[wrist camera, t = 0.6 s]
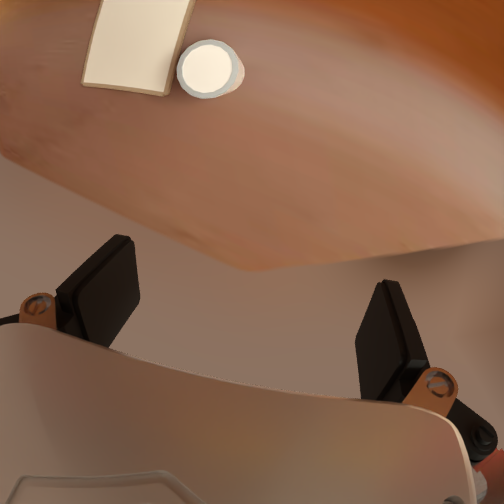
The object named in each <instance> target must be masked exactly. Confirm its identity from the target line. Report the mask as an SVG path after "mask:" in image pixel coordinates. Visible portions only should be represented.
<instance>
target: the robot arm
mask: <svg viewBox="0 0 504 504" xmlns="http://www.w3.org/2000/svg"><path fill="white" fill-rule="evenodd" d="M56 293H57V295H56V296H55V297H53V296H52V295H50V294H48V293H37V294H34V295H31V296H29V297H28V298H26V299H25V300H24V301H23V303H22V304H21V307H20V313H19V314H16V315H12V316H9V317H4V318H1V319H0V504H504V451H503V449H500V450H498V449H497V448H496V447H497V443H498V437H497V434H496V431H495V429H494V428H493V426H491V425H490V424H489V423H488V422H487V421H486V420H484V419H483V418H482V417H480V416H479V415H478V414H476V413H475V412H474V411H472V410H471V409H470V408H468V407H467V406H466V405H465V404H463V403H462V402H461V401H460V400H458V399H457V398H456V396H457V393H458V385H457V382H456V380H455V379H454V377H453V376H452V375H451V374H450V373H449V372H447V371H445V370H444V369H441V368H437V367H433V368H430V365H429V361H428V358H427V355H426V352H425V349H424V346H423V343H422V341H421V337H420V334H419V332H418V329H417V326H416V323H415V321H414V319H413V317H412V315H411V312H410V309H409V307H408V304H407V302H406V299H405V297H404V294H403V292H402V289H401V287H400V284H399V282H397V281H392V280H385V279H384V280H383V281H382V282H381V283H380V282H379V283H377V285H376V288H375V291H374V293H373V295H372V298H371V301H370V303H369V306H368V309H367V311H366V313H365V316H364V319H363V321H362V323H361V326H360V328H359V330H358V333H357V335H356V340H355V347H356V355H357V364H358V372H359V382H360V392H361V399H356V398H345V397H336V396H327V395H318V394H310V393H302V392H295V391H287V390H282V389H275V388H269V387H263V386H258V385H252V384H247V383H241V382H236V381H230V380H226V379H222V378H217V377H212V376H208V375H203V374H199V373H194V372H190V371H187V370H182V369H178V368H175V367H171V366H167V365H164V364H160V363H156V362H152V361H149V360H145V359H142V358H139V357H135V356H132V355H128V354H125V353H122V352H119V351H116V350H113V349H110V348H109V346H110V345H111V343H112V342H113V340H114V339H115V337H116V336H117V334H118V333H119V331H120V330H121V328H122V327H123V325H124V324H125V323H126V321H127V320H128V318H129V317H130V315H131V314H132V312H133V311H134V310H135V308H136V307H137V305H138V304H139V300H140V290H139V282H138V274H137V265H136V255H135V245H134V242H133V241H132V240H131V238H130V237H129V236H124V235H118V234H116V235H114V236H113V237H112V238H111V239H110V240H108V241H107V242H106V243H105V244H104V245H103V246H102V247H100V248H99V249H98V250H97V251H96V252H95V253H94V254H93V255H92V256H91V257H90V258H88V259H87V260H86V261H85V262H84V263H83V264H82V265H81V266H80V267H79V268H78V269H77V270H75V271H74V272H73V273H72V274H71V275H70V276H69V277H68V278H67V279H66V280H65V281H64V282H63V283H62V284H61V285H60V286H59V287H58V288H57V289H56Z"/></svg>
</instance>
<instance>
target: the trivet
mask: <svg viewBox="0 0 504 504" xmlns="http://www.w3.org/2000/svg"><path fill="white" fill-rule="evenodd" d="M195 2H196V0H101V3H100V6H99V9H98V13H97V16H96V19H95V23H94V27H93V30H92V34H91V38H90V42H89V46H88V50H87V55H86V59H85V64H84V69H83V74H82V79H81V84H83V86H89V87H99V88H108V89H117V90H124V91H132V92H139V93H145V94H151V95H157V96H165V95H169V94H170V90H171V86H172V81H173V77H174V73H175V70H176V66H177V62H178V58H179V55H180V51H181V47H182V44H183V40H184V37H185V34H186V30H187V27H188V24H189V21H190V17H191V14H192V11H193V8H194V5H195Z"/></svg>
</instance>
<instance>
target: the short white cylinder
mask: <svg viewBox="0 0 504 504" xmlns="http://www.w3.org/2000/svg"><path fill="white" fill-rule="evenodd" d="M244 76H245V74H244V66H243V64H242V62H241V60H240V59H239V57H238V56H237V55H236V53H235V52H234V50H233V49H232V48H230V47H229V46H228V45H226V44H225V43H224V42H221V41H217V40H213V39H209V40H202V41H198V42H196V43H194V44H193V45H191V46H189V47H188V48H187V49H186V50H185V51H184V53H183V54H182V55H181V56H180V59H179V62H178V65H177V79H178V81H179V83H180V85H181V87H182V88H183V89H184V90H185V91H186V92H188V93H189V94H190V95H191V96H195V97H198V98H201V99H205V98H215V97H218V96H221V95H224V94H227V93H229V92H231V91H234V90H236V89H237V88H238V87H239V85H240V84H241V83H242V81H243V78H244Z"/></svg>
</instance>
